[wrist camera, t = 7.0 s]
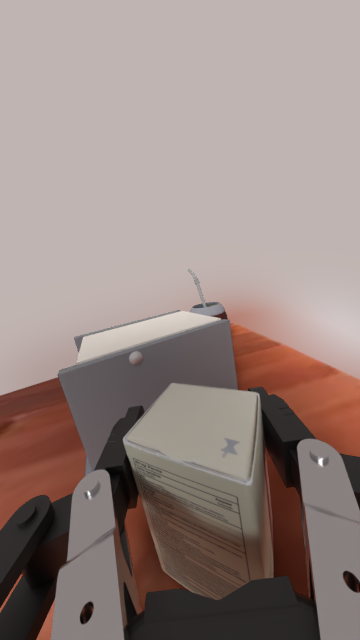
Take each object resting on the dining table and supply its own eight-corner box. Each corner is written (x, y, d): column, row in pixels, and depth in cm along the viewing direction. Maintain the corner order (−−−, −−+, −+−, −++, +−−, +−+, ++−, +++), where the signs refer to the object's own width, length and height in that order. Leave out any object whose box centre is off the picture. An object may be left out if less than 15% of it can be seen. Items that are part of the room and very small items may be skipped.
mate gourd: (223, 354, 31) (210, 262, 28) (183, 351, 35) (168, 271, 32) (235, 338, 37) (226, 261, 34) (199, 337, 41) (188, 269, 38)
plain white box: (99, 431, 15) (76, 362, 13) (97, 382, 23) (83, 336, 22) (228, 372, 20) (220, 318, 18) (189, 349, 28) (182, 310, 26)
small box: (274, 514, 10) (263, 389, 9) (273, 654, 7) (254, 485, 5) (191, 481, 13) (170, 379, 11) (157, 572, 9) (117, 438, 7)
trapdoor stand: (88, 488, 14) (47, 378, 12) (91, 401, 24) (70, 337, 22) (244, 402, 19) (235, 319, 17) (190, 363, 30) (180, 309, 28)
